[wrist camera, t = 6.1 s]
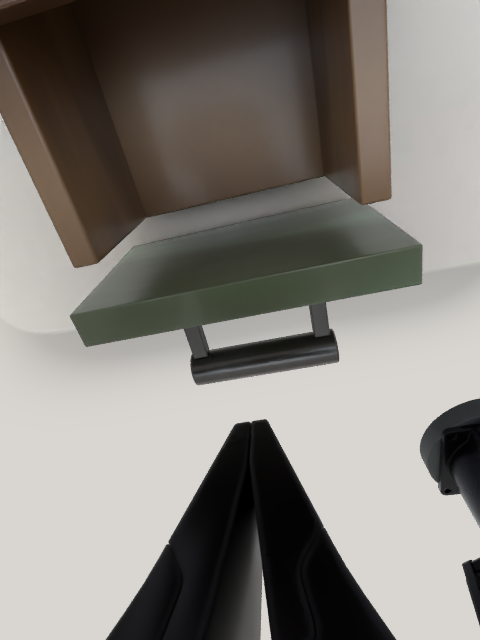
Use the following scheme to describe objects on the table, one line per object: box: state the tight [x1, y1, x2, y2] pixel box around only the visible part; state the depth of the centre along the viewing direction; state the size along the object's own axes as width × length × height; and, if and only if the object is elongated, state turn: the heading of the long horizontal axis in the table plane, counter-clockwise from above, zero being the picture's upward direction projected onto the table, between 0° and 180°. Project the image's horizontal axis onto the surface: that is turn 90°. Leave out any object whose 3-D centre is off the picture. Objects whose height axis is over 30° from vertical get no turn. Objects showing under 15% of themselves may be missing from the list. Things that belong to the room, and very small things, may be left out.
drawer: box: [0, 0, 422, 385], centre depth 12 cm, size 17×10×7 cm, turn 13°
